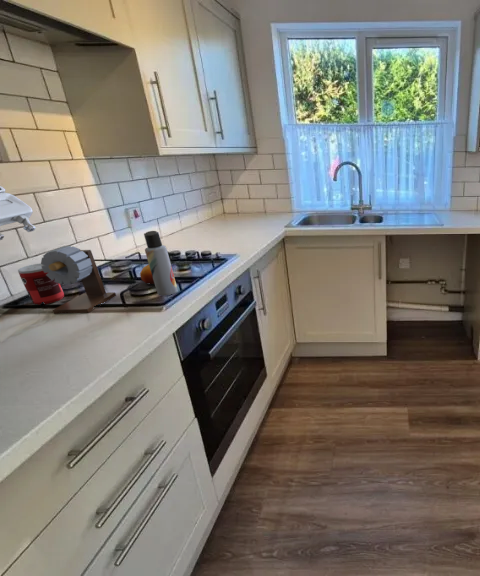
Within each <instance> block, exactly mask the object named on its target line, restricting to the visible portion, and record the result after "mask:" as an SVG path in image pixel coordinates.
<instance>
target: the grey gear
mask: <svg viewBox="0 0 480 576" xmlns="http://www.w3.org/2000/svg"><path fill="white" fill-rule="evenodd" d="M80 250H81V249H80V248H78V247H75V246H71V245H65V246H61V247H58V248H55V249H52V250H50V251H47V252H46V253H44V254H43V255H42V257H41V259H40V260H41V261H40V263H41V264H42V265H43V266H41V267H42V269H43V271H44V273H48V274H46V275H47V276H48V277H49V278H50V279H51V280H54V279H55V281H54V282H57V283H59V284H60V285H64V286H70V285H74V284H76V283H78V282H80V281H81V280H82V279H84V278H86V277H87V276H89V275H90V273H91V272H92V266H91V265H92V263H91V260H90V258H87V257H88V255H87V254H85V253H84V252H83V251H81V252H80ZM85 258H86V259H85ZM58 261H60V262H62V263H64V264H65V265H66V266H65V267H63V268H61V269H58V270H56V271H52V270H50V269H49V265H50V264H52V263H55V262H58Z"/></svg>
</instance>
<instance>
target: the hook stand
mask: <svg viewBox="0 0 480 576" xmlns="http://www.w3.org/2000/svg"><path fill="white" fill-rule="evenodd" d="M81 251H83V252H84V253H85V254H87V255H88V257H87V258H90V260H91V263H92V265H91V266H92V272H91V273H90V275H89V276H87V277H86V278H84V279H82V280H80V281H81V284H82V286H83V288H84V291H85V292H84V293H82V294H80V295H78V296H76V297H74V298H72V299H71V300H69V301H67V302H65V303H63V304H62V305H59V306H57V307H55V308H54V309H52V312H53V314H54V315H56V314H57V315H59V314H89V313H91V312H92V311H93V310H92V309H93V307H94V306H96V305H98V304H101V303H104V302H105V303H107V302H109V301H110V300H112V299H113V298H115V297H117V292H113V291H112V292H111V291H110V292H107V291H106V288H105V286H104V282H103V280H102V277H101V275H100V272H99V269H98V266H97V263H96V260H95V258H94V255H93V253H92V250H91V249H80V252H81ZM85 259H86V258H85ZM65 266H66V265H65V264H64V263H62V262H60V261H58V262H55V263H52V264H50V265H49V269H50V270H52V271H56V270H58V269H61V268H63V267H65ZM105 303H104V304H105Z"/></svg>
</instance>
